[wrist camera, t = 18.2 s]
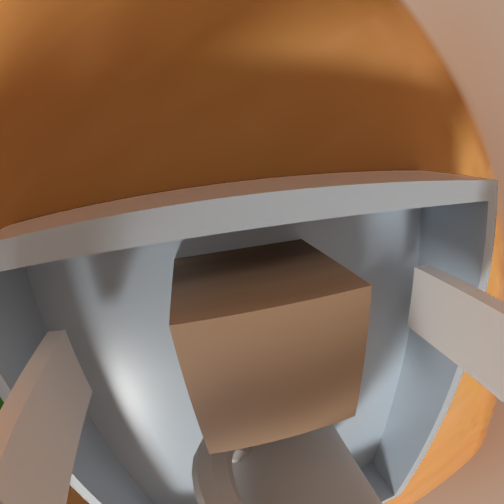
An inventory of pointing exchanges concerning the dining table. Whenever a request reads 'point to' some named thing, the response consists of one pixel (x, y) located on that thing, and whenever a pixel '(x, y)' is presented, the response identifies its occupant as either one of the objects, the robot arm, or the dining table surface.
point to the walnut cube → (268, 341)
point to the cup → (283, 473)
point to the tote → (222, 239)
